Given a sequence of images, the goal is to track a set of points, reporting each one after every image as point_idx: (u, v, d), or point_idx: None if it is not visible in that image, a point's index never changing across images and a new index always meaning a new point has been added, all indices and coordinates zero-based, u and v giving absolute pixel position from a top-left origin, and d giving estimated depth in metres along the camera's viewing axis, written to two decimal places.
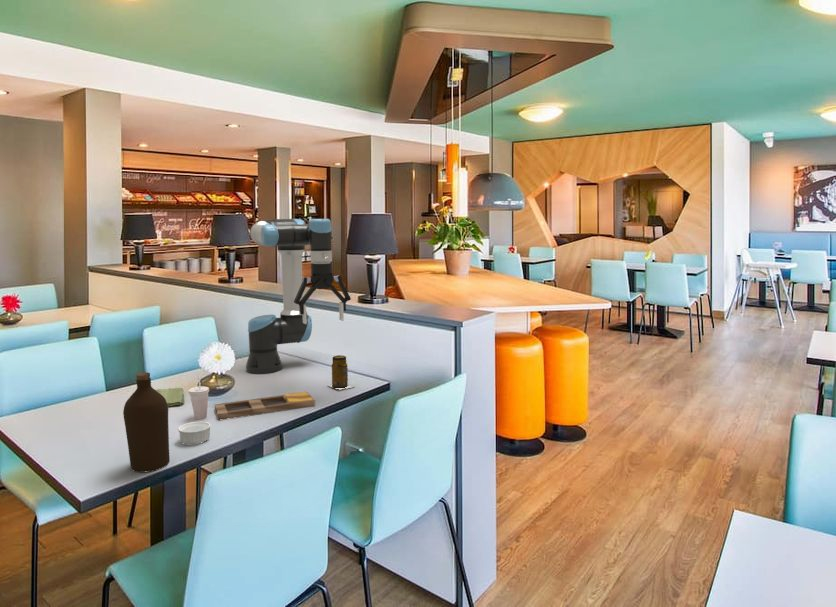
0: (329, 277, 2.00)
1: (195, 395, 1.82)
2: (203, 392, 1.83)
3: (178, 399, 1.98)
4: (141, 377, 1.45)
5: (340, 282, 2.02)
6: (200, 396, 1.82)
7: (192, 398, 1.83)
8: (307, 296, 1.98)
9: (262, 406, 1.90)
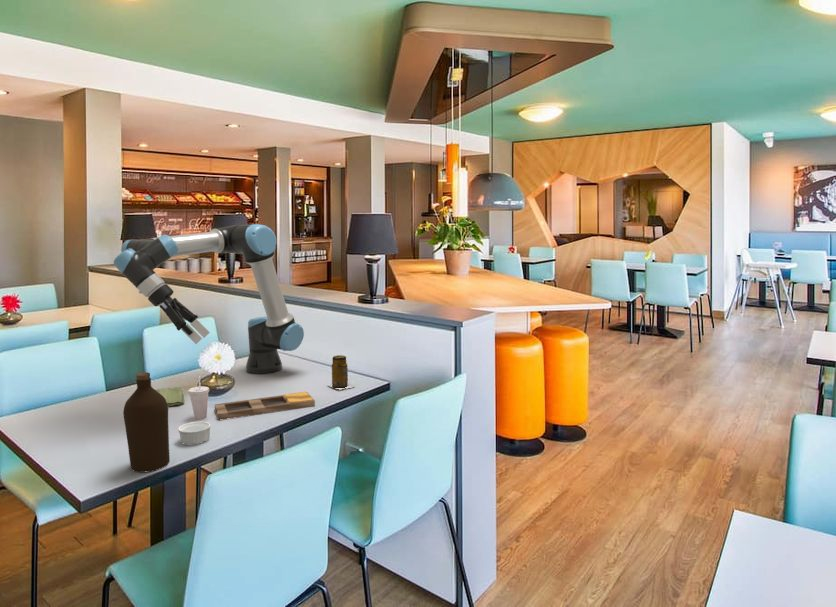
0: None
1: (195, 395, 1.82)
2: (203, 392, 1.83)
3: (178, 399, 1.98)
4: (141, 377, 1.45)
5: None
6: (200, 396, 1.82)
7: (192, 398, 1.83)
8: None
9: (262, 406, 1.90)
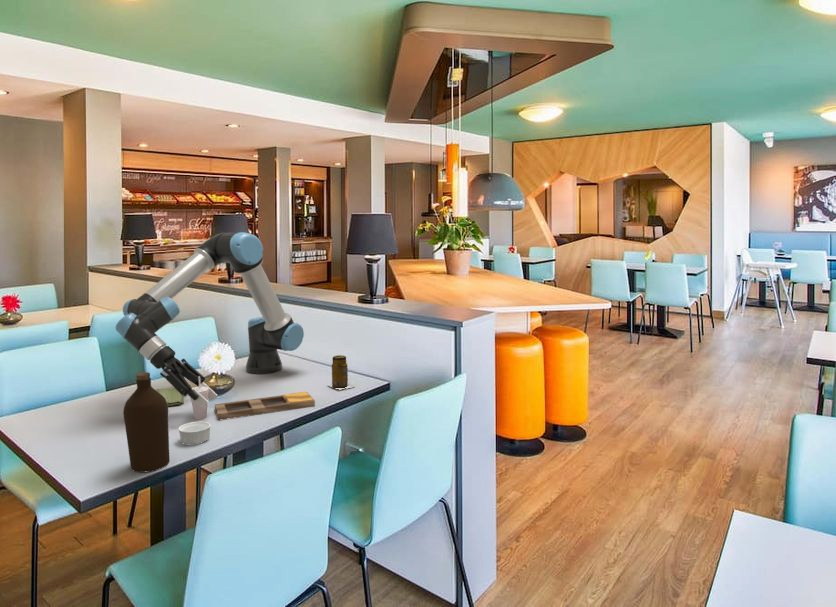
0: None
1: None
2: (203, 392, 1.83)
3: (178, 399, 1.98)
4: (141, 377, 1.45)
5: None
6: None
7: None
8: None
9: (262, 406, 1.90)
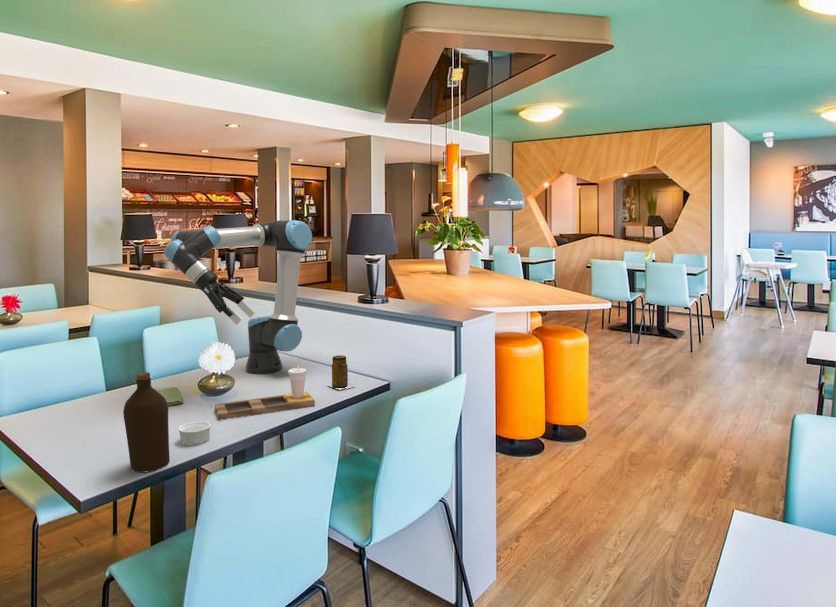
0: None
1: (295, 376, 1.95)
2: (302, 373, 1.96)
3: (177, 398, 1.99)
4: (141, 377, 1.45)
5: None
6: (299, 377, 1.96)
7: (292, 378, 1.96)
8: None
9: (262, 406, 1.90)
